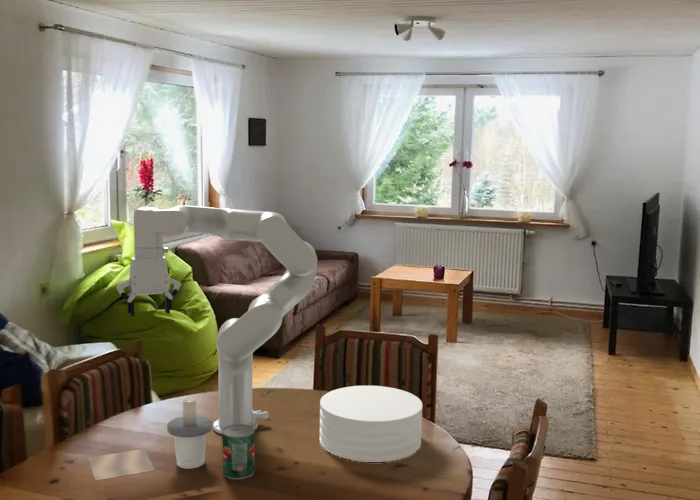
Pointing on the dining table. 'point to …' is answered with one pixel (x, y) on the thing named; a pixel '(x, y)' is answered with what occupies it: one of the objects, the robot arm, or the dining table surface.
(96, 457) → the cork mat
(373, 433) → the plate stack
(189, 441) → the white cup
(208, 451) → the dining table surface
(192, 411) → the lid
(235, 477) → the canned tomato
